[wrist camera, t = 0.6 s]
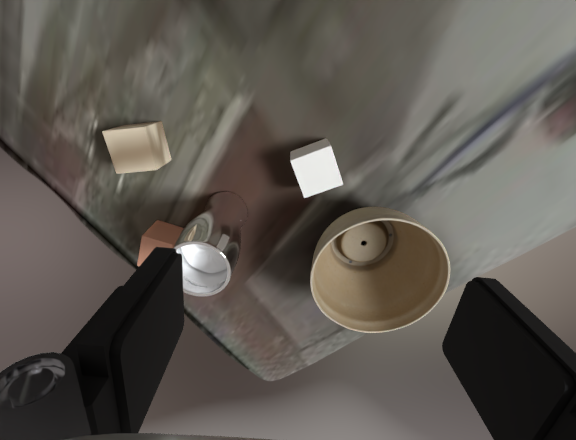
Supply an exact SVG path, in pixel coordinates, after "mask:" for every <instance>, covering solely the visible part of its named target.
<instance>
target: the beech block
mask: <svg viewBox="0 0 576 440" xmlns="http://www.w3.org/2000/svg"><path fill="white" fill-rule="evenodd" d="M102 133H103V135H104V138H105V141H106V144H107V147H108V150H109V153H110V156H111V159H112V162H113V165H114V167H115V170H116V173H117V174H120V173H130V172H140V171H150V170H158V169H159V168H160V167H162V166H163V165H165V164H166V163H168V162H169V161H171V160H172V159H171V156H170V152H169V148H168V144H167V140H166V136H165V133H164V129H163V125H162V121H159V122H150V123H140V124H131V125H123V126H119V127H116V128H112V129H109V130H105V131H102Z"/></svg>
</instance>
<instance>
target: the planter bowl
mask: <svg viewBox="0 0 576 440" xmlns="http://www.w3.org/2000/svg"><path fill="white" fill-rule="evenodd" d="M362 241H365V242H366V245H362V244H361V242H362ZM449 278H450V262H449V258H448V254H447V252H446V250H445V248H444V246H443V244H442V243H441V242H440V240H439V239H438V238H437V237H436V236H435V235H434V234H433V233H432V232H431V231H430V230H428V229H427V228H426V227H424V226H423V225H421V224H420V223H419V222H417V221H416V220H415V219H413V218H411V217H410V216H408V215H406V214H404V213H402V212H399V211H396V210H393V209H389V208H384V207H364V208H359V209H355V210H352V211H350V212H348V213H346V214H344V215H342V216H340V217H339V218H337V219H336V220H335V221H334V222H332V223H331V224H330V225H329V226H328V227H327V229H326V230H325V231H324V233H323V234H322V236H321V237H320V239H319V241H318V243H317V246H316V248H315V252H314V255H313V261H312V267H311V273H310V286H311V292H312V295H313V298H314V300H315V302H316V304H317V306H318V307H319V309H320V310H321V311H322V312H323V313H324V314H325V315H326V316H327V317H328V318H329V319H331V320H332V321H333V322H335V323H337V324H338V325H341V326H343V327H345V328H348V329H351V330H354V331H359V332H365V333H378V332H388V331H392V330H397V329H400V328H403V327H406V326H408V325H410V324H412V323H414V322H416V321H418V320H419V319H421V318H422V317H424V316H425V315H426V314H427V313H429V312H430V311H431V310H432V309H433V308H434V307H435V306H436V305H437V303H438V302H439V300H440V299H441V298H442V296H443V295H444V293H445V291H446V289H447V286H448V283H449Z"/></svg>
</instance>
